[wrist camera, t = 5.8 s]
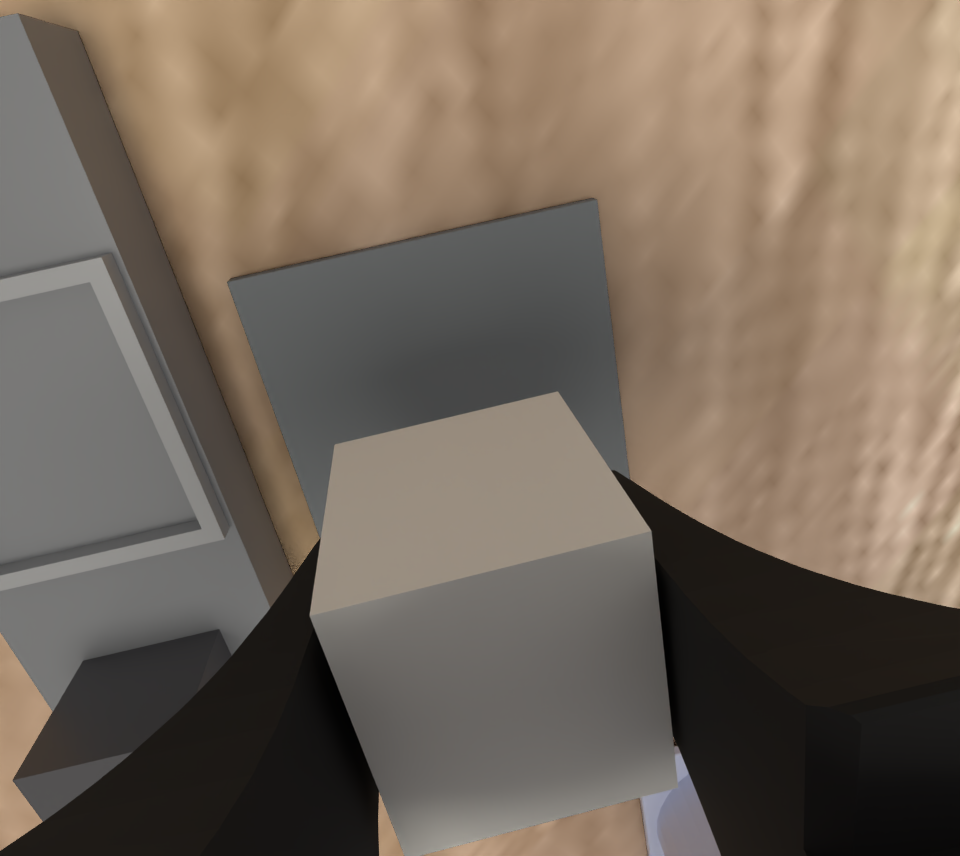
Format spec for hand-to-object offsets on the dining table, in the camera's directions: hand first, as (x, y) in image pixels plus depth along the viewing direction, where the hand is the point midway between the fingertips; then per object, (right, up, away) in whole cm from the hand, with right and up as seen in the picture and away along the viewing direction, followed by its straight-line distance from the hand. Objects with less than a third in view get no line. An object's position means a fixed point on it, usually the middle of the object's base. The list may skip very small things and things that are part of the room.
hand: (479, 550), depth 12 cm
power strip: (-9, -3, +8) cm, 12 cm away
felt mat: (-1, +3, +6) cm, 7 cm away
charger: (0, 0, +1) cm, 1 cm away
